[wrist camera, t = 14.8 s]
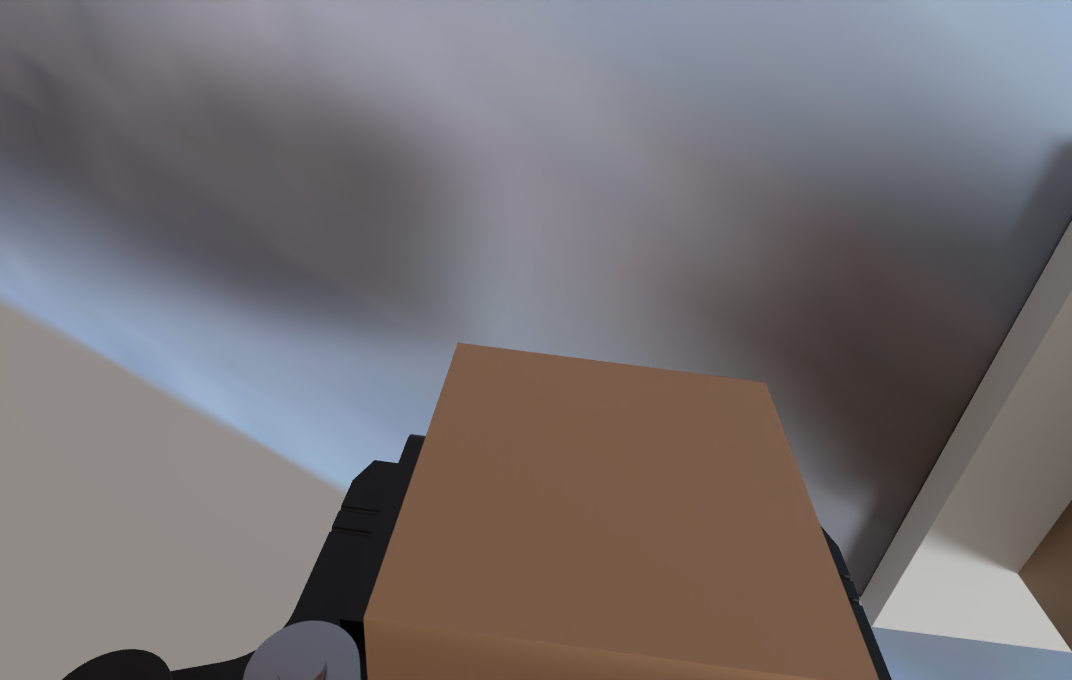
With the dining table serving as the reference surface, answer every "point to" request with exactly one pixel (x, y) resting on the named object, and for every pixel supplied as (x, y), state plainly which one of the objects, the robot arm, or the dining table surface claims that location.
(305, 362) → the dining table surface
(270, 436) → the dining table surface
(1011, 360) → the grey plate
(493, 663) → the terracotta block
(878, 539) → the dining table surface
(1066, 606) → the walnut base block
